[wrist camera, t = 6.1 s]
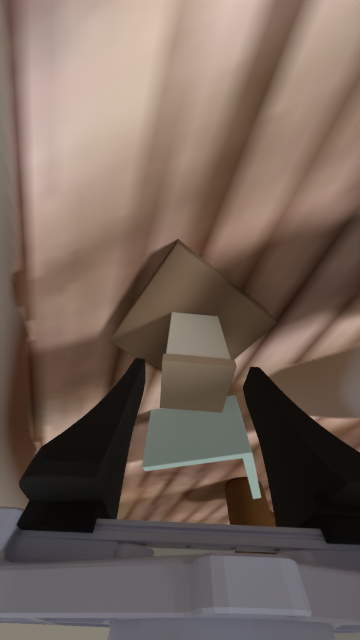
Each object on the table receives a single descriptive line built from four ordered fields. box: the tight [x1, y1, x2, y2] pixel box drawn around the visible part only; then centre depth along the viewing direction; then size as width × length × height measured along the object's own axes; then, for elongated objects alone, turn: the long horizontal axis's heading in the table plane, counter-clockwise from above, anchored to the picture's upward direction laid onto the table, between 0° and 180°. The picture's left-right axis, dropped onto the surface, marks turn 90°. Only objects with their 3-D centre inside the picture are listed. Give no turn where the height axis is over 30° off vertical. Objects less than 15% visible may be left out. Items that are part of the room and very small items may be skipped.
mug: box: [225, 478, 277, 554], centre depth 35 cm, size 12×8×9 cm, turn 77°
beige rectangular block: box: [160, 312, 237, 413], centre depth 15 cm, size 4×4×6 cm
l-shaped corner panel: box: [142, 395, 261, 499], centre depth 26 cm, size 12×12×8 cm
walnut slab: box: [109, 239, 277, 370], centre depth 19 cm, size 11×11×3 cm
